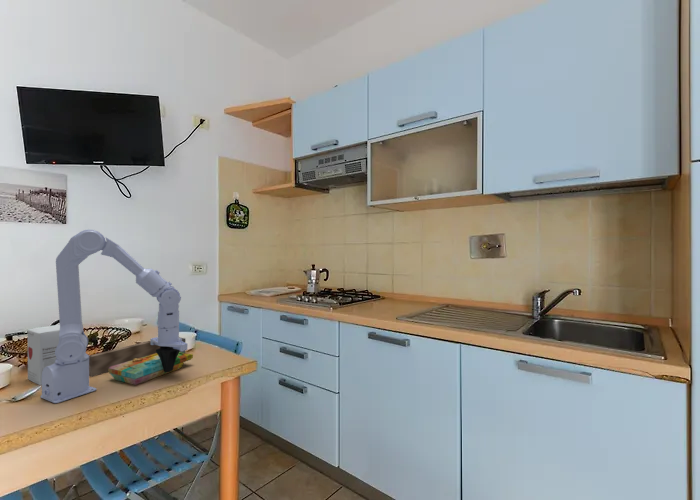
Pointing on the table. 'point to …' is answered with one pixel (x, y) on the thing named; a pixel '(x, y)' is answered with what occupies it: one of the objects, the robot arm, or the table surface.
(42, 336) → the supplement box
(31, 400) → the table surface
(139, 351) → the shelf corner
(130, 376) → the puzzle game
